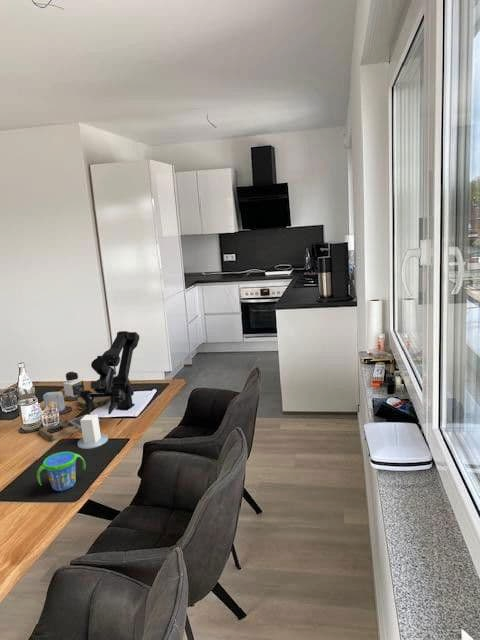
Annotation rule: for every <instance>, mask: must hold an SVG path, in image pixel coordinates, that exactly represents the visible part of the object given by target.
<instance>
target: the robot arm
mask: <svg viewBox="0 0 480 640" xmlns="http://www.w3.org/2000/svg"><path fill="white" fill-rule="evenodd" d="M139 341H140V334H138V332H136V331H132V332H131V331H127V330H123V331H122V330H120V331H117V333H116V337H115V338H114V340H113V342H112V344H111V346H110V348H109V349H107V350H106V351H104V352H103V354H102V355H97V358H94V359H93V360H92V361H91V365H90V367H91V369H93V371H94V372H95V373H96V374H97V375H99V379H97V380H93V381H92V380H91V381H90V389H91V390H93V391H91V390H90V389H84V390H82V391H81V392H80V395H79V396H78V397H81V398H82V399H83V400H84V401H85V402H86V407H87V408H86V412H87V414H88V415H89V414H91V412H92V409H93V408H92V406H93V402H94V401H92V400H93V399H94V397H111V401H110V402H109V407H108V410H107V411H108V412H107V414H108V415H111V414H112V412H114V409H116V410H118V409H120V411H128V409H129V410H130V409H131V408H133V407H134V406H135V403H133V397H132V396H134V394H135V388H134V387H133V386H132V385H131V381H130V379H129V376H130V375H129V374H130V370H131V363H132V358H133V351H134V350H135V349H136V348H137V346H138V345H139ZM121 352H122V353H121ZM120 354H121V357H120ZM117 366H119V367H118V371H117V373H116V371H115V368H113V367H117ZM116 374H117V375H116ZM114 375H116V376H114ZM95 391H96V393H92V392H95ZM132 406H133V407H132ZM87 414H86V415H87Z"/></svg>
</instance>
